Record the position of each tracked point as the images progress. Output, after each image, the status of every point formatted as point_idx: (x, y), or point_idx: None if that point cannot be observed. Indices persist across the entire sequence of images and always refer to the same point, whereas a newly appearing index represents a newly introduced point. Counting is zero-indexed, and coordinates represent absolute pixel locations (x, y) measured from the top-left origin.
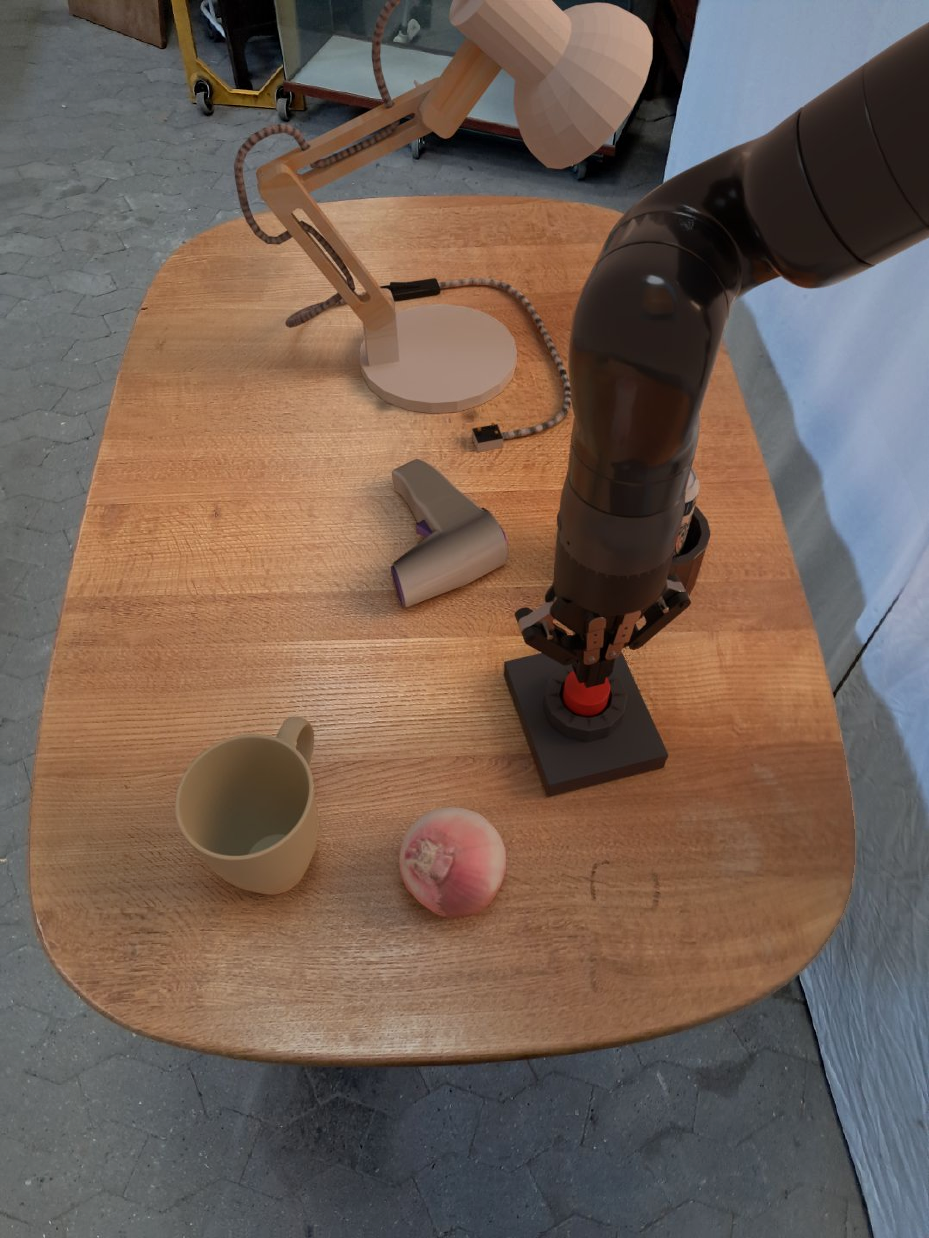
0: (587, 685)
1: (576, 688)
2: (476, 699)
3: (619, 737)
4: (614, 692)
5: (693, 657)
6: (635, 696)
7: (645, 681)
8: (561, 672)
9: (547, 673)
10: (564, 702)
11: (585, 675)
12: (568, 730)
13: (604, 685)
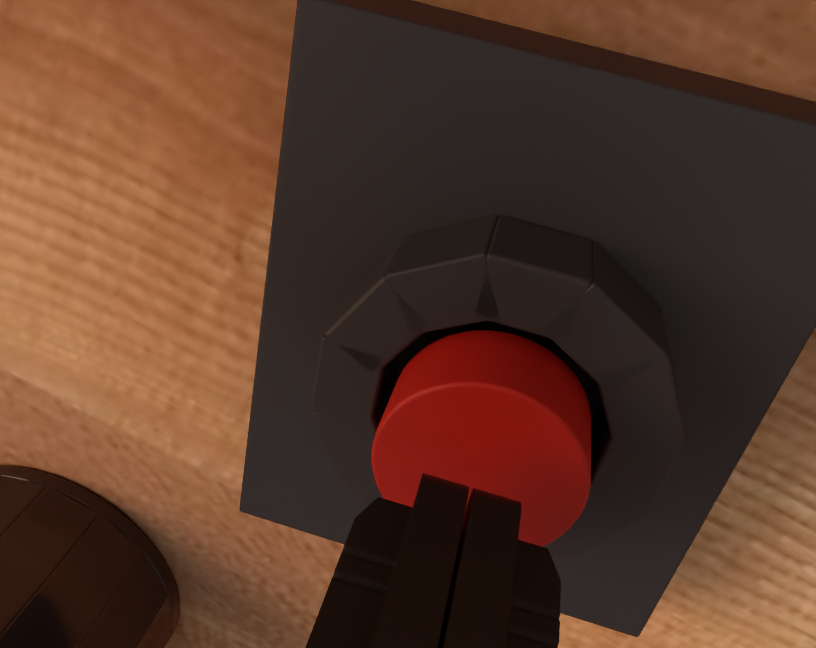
0: (519, 522)
1: (533, 493)
2: (775, 556)
3: (450, 185)
4: (367, 371)
5: (40, 304)
6: (288, 301)
7: (223, 318)
8: None
9: None
10: None
11: (513, 595)
12: (659, 332)
13: (404, 437)
